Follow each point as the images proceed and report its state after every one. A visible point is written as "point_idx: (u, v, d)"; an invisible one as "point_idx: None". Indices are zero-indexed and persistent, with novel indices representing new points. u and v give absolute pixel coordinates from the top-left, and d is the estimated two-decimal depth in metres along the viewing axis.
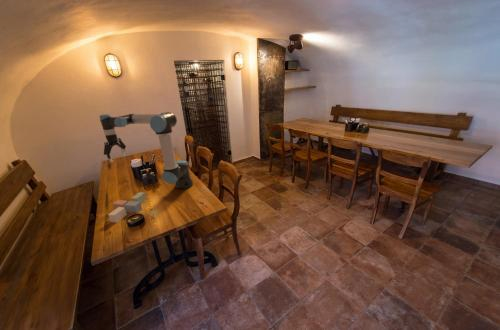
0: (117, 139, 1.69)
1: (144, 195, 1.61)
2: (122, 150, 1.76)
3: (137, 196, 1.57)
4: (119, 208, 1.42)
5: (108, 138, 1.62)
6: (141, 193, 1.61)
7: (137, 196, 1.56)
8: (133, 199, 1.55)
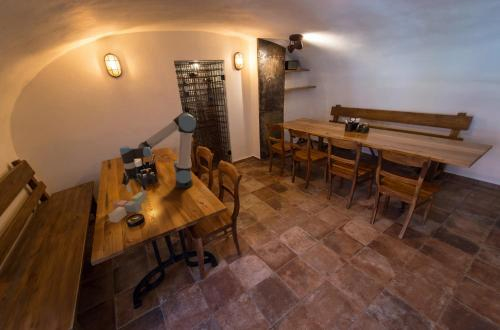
0: (135, 175, 1.50)
1: (144, 195, 1.61)
2: None
3: (137, 196, 1.57)
4: (119, 208, 1.42)
5: None
6: (141, 193, 1.61)
7: (137, 196, 1.56)
8: (133, 199, 1.55)
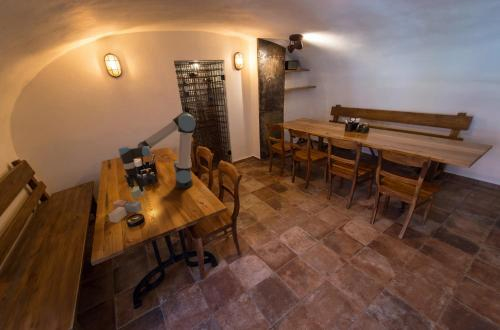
0: (136, 175, 1.50)
1: (143, 188, 1.59)
2: None
3: (136, 189, 1.54)
4: (119, 208, 1.43)
5: None
6: None
7: (136, 190, 1.54)
8: (132, 192, 1.53)
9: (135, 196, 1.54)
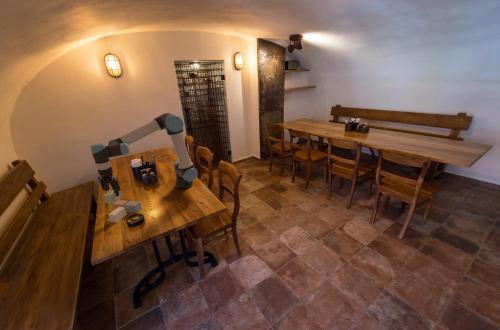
0: (110, 177, 1.30)
1: (119, 192, 1.39)
2: None
3: (110, 194, 1.34)
4: (119, 208, 1.43)
5: None
6: None
7: (110, 194, 1.34)
8: (105, 197, 1.33)
9: (109, 201, 1.34)
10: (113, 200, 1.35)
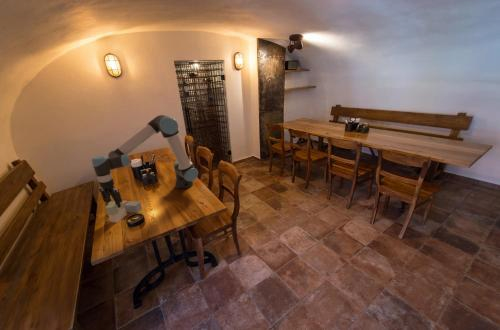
0: (112, 189, 1.31)
1: (121, 203, 1.40)
2: None
3: (112, 205, 1.35)
4: None
5: None
6: None
7: (112, 205, 1.35)
8: (107, 208, 1.34)
9: (110, 213, 1.35)
10: (115, 211, 1.36)
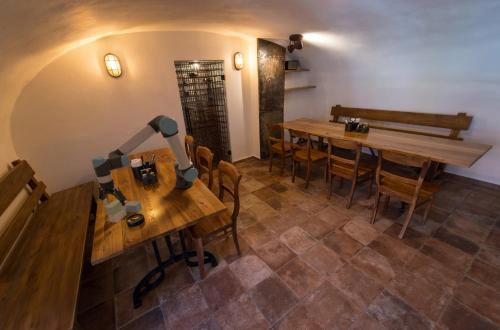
0: (112, 189, 1.31)
1: None
2: None
3: (112, 205, 1.35)
4: None
5: None
6: (117, 201, 1.39)
7: (111, 206, 1.34)
8: (106, 209, 1.34)
9: (110, 213, 1.34)
10: (114, 211, 1.36)
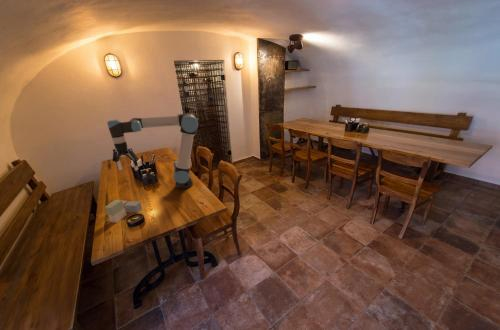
0: (125, 150, 1.45)
1: (120, 203, 1.40)
2: None
3: (112, 205, 1.35)
4: None
5: None
6: (117, 201, 1.39)
7: (111, 206, 1.35)
8: (107, 208, 1.34)
9: (110, 213, 1.34)
10: (115, 211, 1.36)
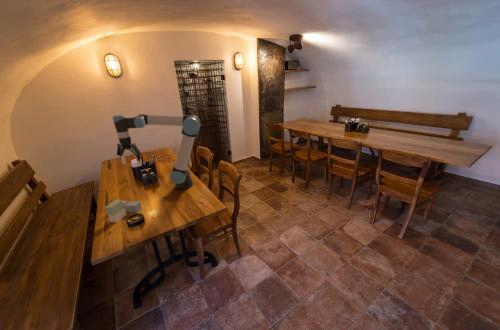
0: (129, 144, 1.49)
1: (121, 203, 1.40)
2: None
3: (112, 205, 1.35)
4: None
5: None
6: (117, 201, 1.39)
7: (112, 205, 1.35)
8: (107, 208, 1.34)
9: (110, 213, 1.34)
10: (115, 211, 1.36)
